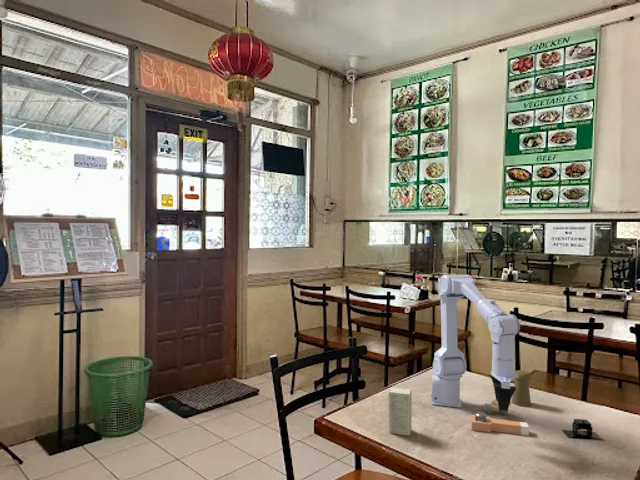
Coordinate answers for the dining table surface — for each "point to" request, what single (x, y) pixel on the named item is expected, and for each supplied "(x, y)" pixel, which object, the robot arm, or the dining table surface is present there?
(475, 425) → the link
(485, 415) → the stand
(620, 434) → the dining table surface
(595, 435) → the black piece
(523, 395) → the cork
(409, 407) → the skincare box
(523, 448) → the dining table surface
